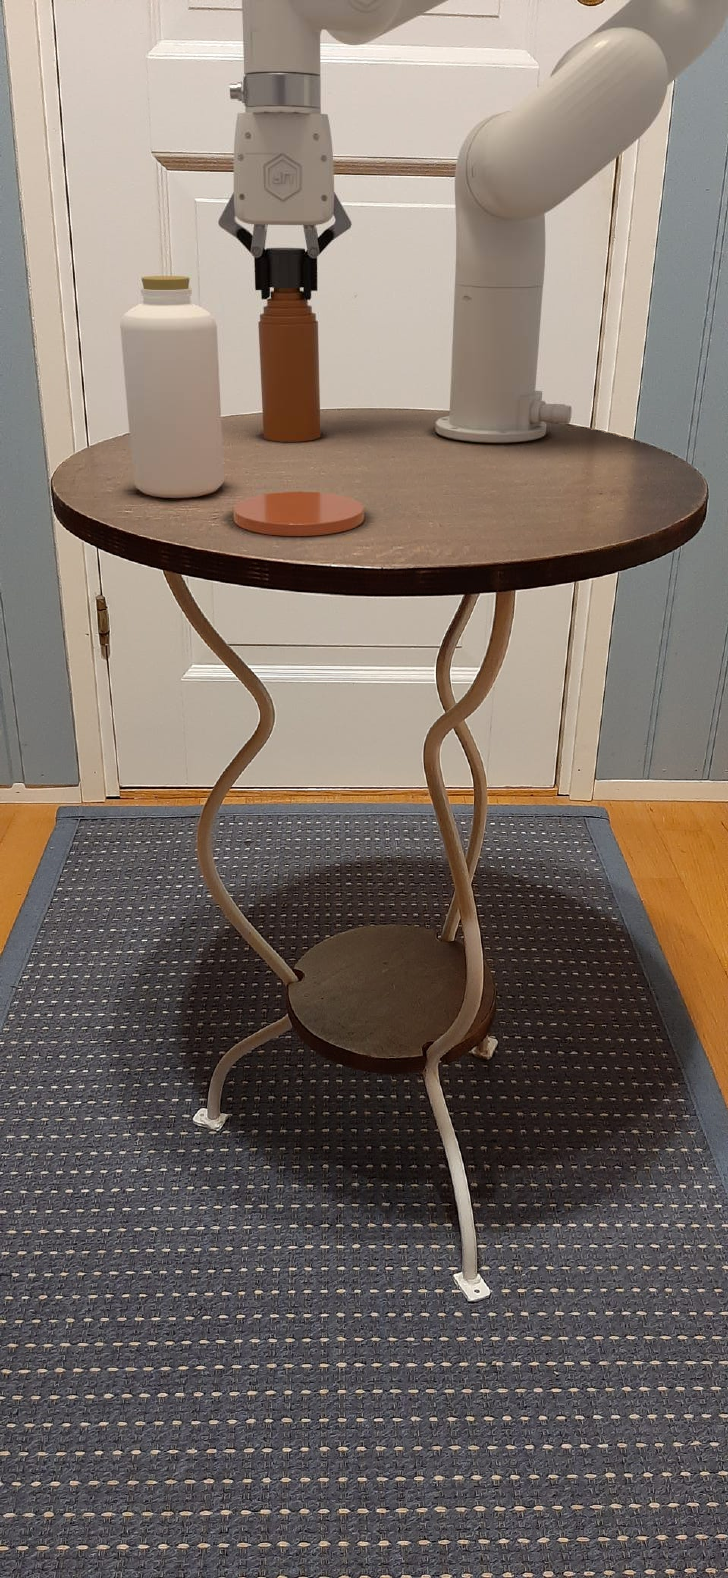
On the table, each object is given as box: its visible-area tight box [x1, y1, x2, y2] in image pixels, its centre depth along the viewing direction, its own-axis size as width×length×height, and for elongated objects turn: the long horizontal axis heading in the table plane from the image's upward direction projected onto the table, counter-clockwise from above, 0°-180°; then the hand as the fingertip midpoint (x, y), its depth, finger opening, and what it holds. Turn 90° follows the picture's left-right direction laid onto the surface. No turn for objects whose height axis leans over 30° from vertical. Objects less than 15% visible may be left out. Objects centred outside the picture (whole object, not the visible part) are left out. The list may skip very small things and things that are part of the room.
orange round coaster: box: [232, 491, 365, 537], centre depth 97 cm, size 11×11×1 cm
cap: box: [265, 247, 306, 289], centre depth 121 cm, size 4×4×4 cm
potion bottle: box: [119, 275, 225, 499], centre depth 102 cm, size 8×8×18 cm
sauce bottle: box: [257, 288, 322, 443], centre depth 125 cm, size 6×6×18 cm
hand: (286, 296), depth 122 cm, fingers closed on cap, 3 cm apart
